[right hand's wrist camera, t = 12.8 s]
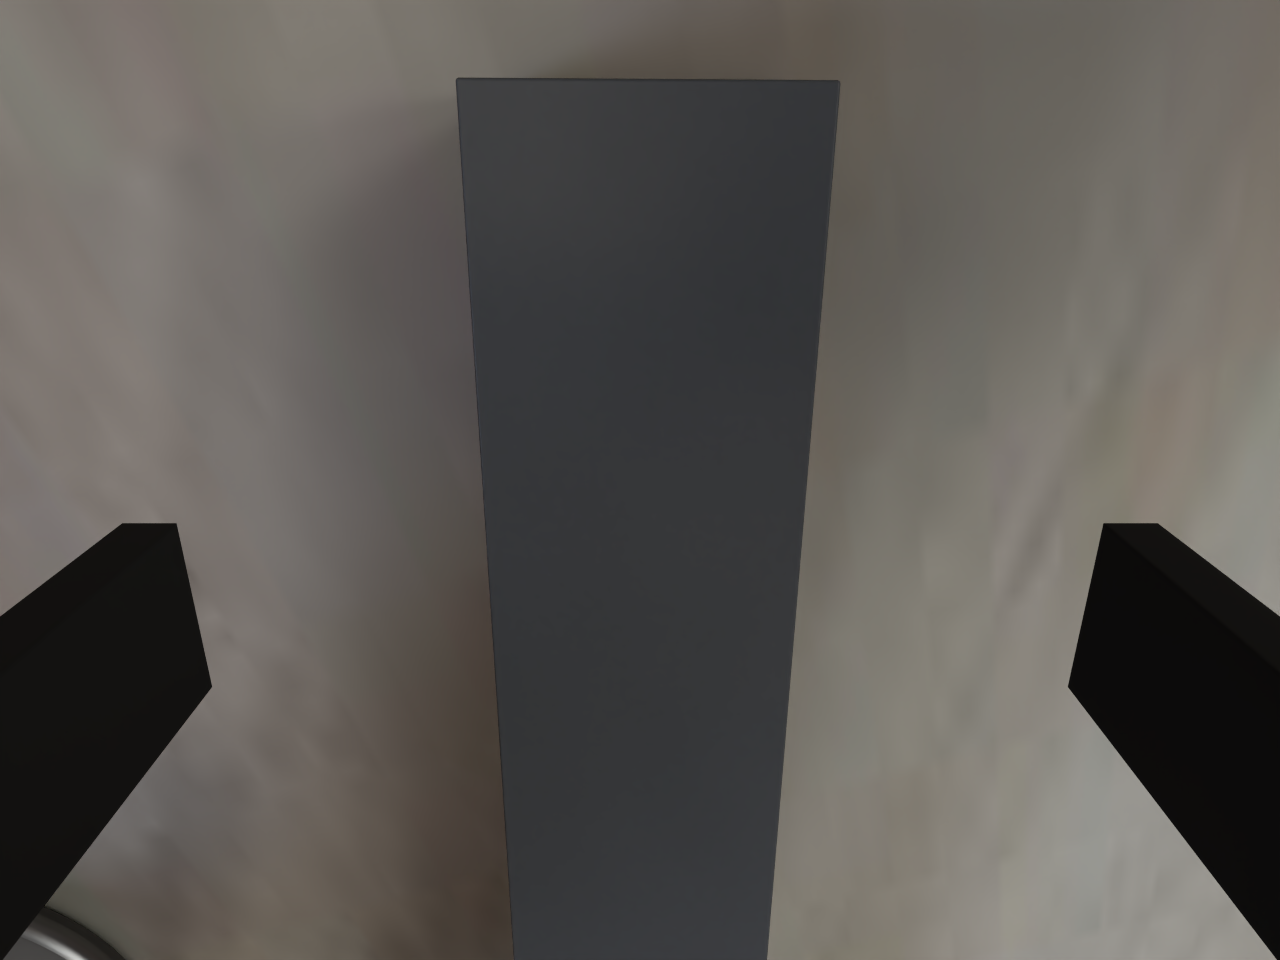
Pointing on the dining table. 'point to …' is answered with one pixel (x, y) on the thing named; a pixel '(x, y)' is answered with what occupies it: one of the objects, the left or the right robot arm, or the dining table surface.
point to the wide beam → (644, 489)
